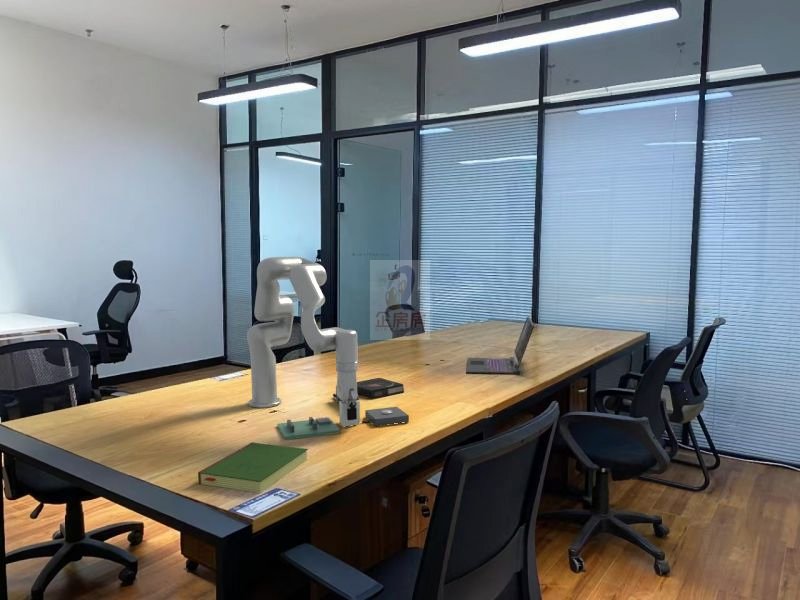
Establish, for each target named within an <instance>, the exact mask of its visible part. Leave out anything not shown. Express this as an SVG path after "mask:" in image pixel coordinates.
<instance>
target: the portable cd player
mask: <svg viewBox="0 0 800 600" xmlns="http://www.w3.org/2000/svg"><path fill="white" fill-rule="evenodd" d="M404 392H405V387H404V383H400V382H398V381H397V382H396V381H393V380H389V379H385V378H381V377H375V378H370V379H366V380H365V379H364V380H359V381H357V395H358V396H361V397H363V398H366V399H369V400H376V399H380V398H386V397H388V396H389V397H390V396H394V395H395V396H396V395H399V394H404Z"/></svg>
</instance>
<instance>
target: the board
mask: <svg viewBox="0 0 800 600" xmlns="http://www.w3.org/2000/svg"><path fill="white" fill-rule="evenodd" d="M277 429H278V430H279V432H280V433H281V435H282V438H283V439H284V441H288V440H293V439H294V440H295V439H302V438H304V439H305V438H310V437H311V438H312V437H317V436H327V435H333V434H334V433H335V434H340V433H341V430H340V428H339V427H338V426H337V425H336V424H335V423H334V421H333V420H331V418H329V417H327V416H325V417H318V418H313V416H309V417H308V419H305V420H299V421H298V420H297V421H296V420H295V421H292V420H291V419H287V420H286V422H281V423H280V422H279V423H277ZM335 434H334V435H335Z"/></svg>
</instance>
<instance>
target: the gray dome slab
mask: <svg viewBox="0 0 800 600" xmlns="http://www.w3.org/2000/svg"><path fill="white" fill-rule="evenodd" d="M364 411H365V412H364V413H365V418H366V419H365V420H364V419H363V420H361V423H362V424H364V422H367V423H371V422H372V423H373V424H374V425H375V427H376V426H379V427H381V426H380V425H386V426H388V425H387V424H394V423H402V422H410V415H409V414H408V413H406V412H405V411H404V410H402V409H401V408H400V407H398V406H389V407H382V408H374V409H365V410H364ZM370 421H371V422H370ZM372 423H371V424H372ZM373 424H372V425H373ZM402 424H403V423H402ZM374 425H373V426H374ZM394 425H395V424H394Z"/></svg>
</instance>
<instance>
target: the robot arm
mask: <svg viewBox="0 0 800 600" xmlns="http://www.w3.org/2000/svg"><path fill="white" fill-rule="evenodd" d="M256 280H257V286H256V294H255V301H254V302H255V303H254V311H253V312H254V317H255V318H256V320H257V321H259V322H264V323H258V324H254V325H252V326H250V328H249V329H248V330H247V333H246V339H247V343H248V344H247V345H248V348H249V354H250V355H249V356H250V373H251V374H250V375H251V376H250V377H251V399H250V400H248V402H247V404H248V406H249V407H252V408H259V409H262V408H272V407H276V406H278V405H280V404H282V399H281V398H280V397H278V393H277V392H278V388H277V384H278V383H277V361H276V360H277V359H276V355H275V354H274V352H273V351H272V347H276V346H278V347H279V346H282V345H286V344H287V343H288V342H289V340H290V338H291V335H292V329H293V321H294V317H295V316H294V315H295V306H294V302H293V300H292V299H291V298H290V297H289V296H287V295H284V294H283V295H280V292H281V286H280V283H279V281H280V280H282V281H284V280H289V281H290V284H291V286H292V288H293V289H294V292H295V294H296V297H297V298H298V300H299V303H300V305H301V308H302V313H301V316H300V329H301V333H302V335H303V338H304V339H305V342H306V343H307V345H308V347H309V348H310V349H311V350H312V351H313V352H316V353H320V352H321V353H322V352H326V351H333V350H335V371H336V372H337V375H336V386H337V396H338V397H339V398H340V401H343V402H345V401H347V405H348V408H347V420H356V419H357V405H356V404H357V403H356V400H357V382H358V380H357V379H358V377H357V372H358V371H359V351H358V350H359V349H358V346H359V345H358V344H359V343H358V337H359V336H358V332H357V331H356V330H354V329H344V328H341V327H336V326H334V327H329V328H322V329H321V328H320V329H319V327H318V324H317V322H316V319H315V313H316V311H317V310H318V309H320V308H321V307H322V306H323V305H324V304H325V302H326V297H325V295H324V293H323V292H322V289H321V286H323V285H324V284H325V283H326V282H327V272H326V269H325V268H324V266H322V265H321V264H320V263H317V262H315V261H313V260H309V259H307V258H303V257H301V256H275V257H274V256H272V257H266V258H263V259H262V260H261V261H260V262H259V263H258V266H257V268H256ZM351 398H352V399H351ZM349 402H351V403H349Z"/></svg>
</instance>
